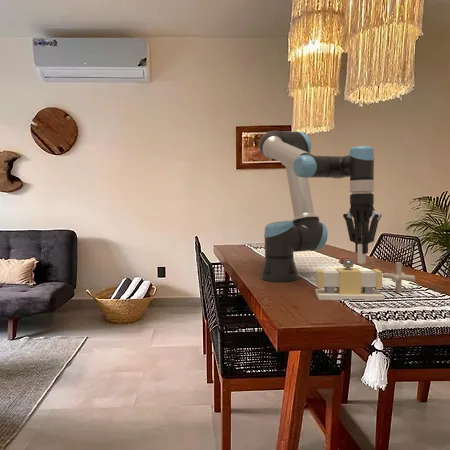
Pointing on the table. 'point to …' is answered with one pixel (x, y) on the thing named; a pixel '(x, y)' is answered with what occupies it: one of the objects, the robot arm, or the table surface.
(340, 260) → the valve lever
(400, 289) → the pipe connector
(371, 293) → the valve base
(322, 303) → the table surface
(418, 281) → the table surface
